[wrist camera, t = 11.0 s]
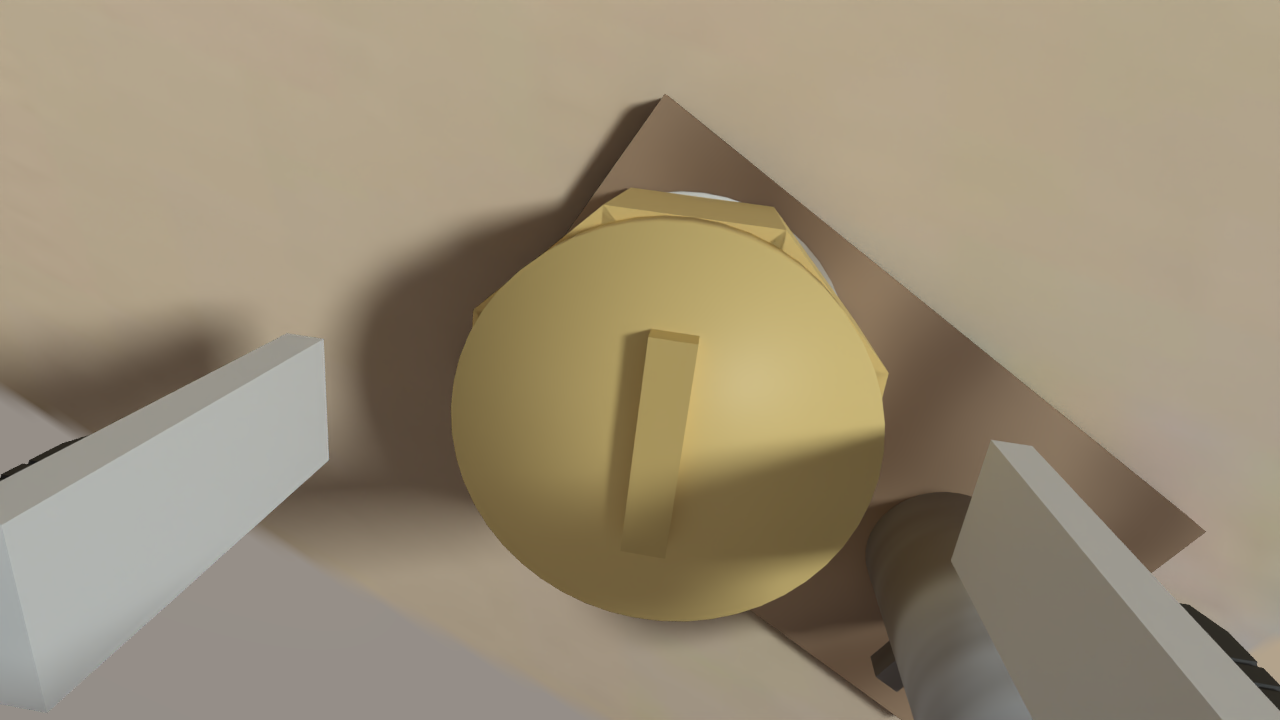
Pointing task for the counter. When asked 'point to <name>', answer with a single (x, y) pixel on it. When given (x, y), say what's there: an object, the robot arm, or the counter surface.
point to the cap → (670, 410)
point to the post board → (906, 461)
